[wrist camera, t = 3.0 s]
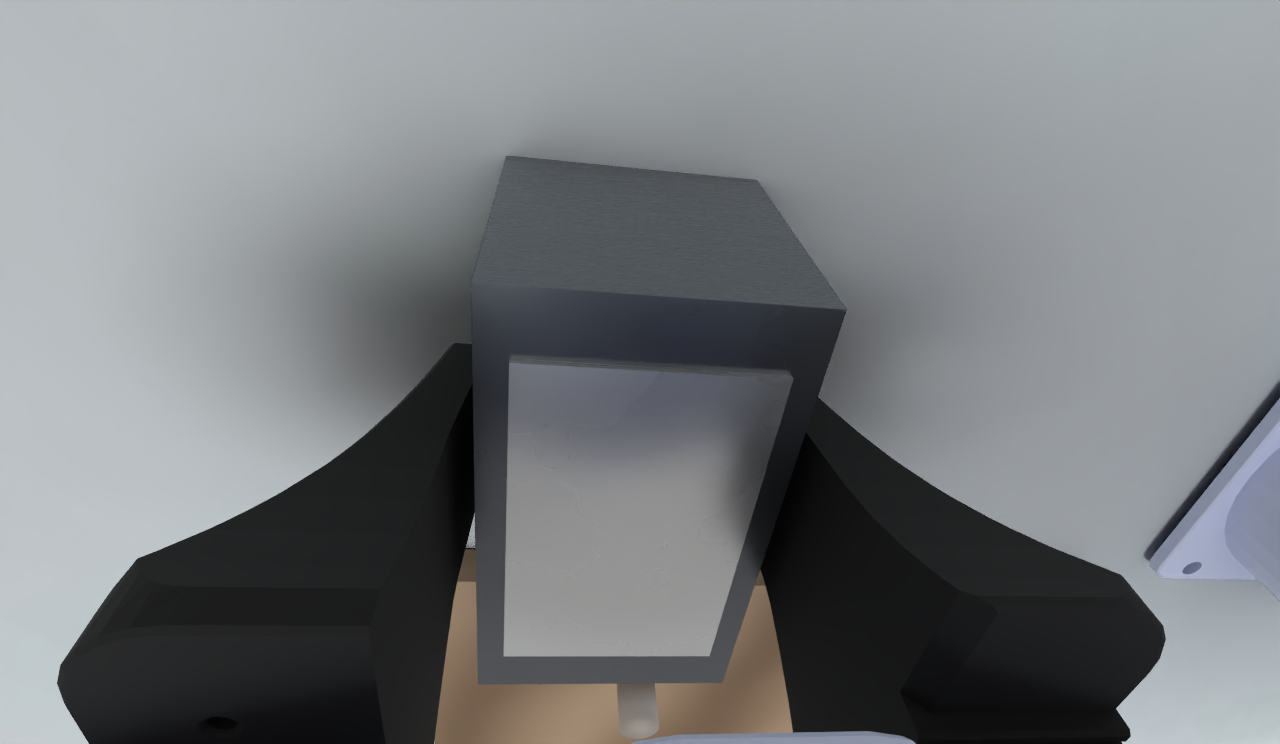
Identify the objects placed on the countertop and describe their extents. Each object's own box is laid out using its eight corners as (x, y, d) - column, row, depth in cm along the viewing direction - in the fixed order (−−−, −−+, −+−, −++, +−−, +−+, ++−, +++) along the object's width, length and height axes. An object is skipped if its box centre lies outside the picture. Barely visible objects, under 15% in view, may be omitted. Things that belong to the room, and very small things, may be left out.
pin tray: (1075, 561, 19) (1148, 656, 17) (925, 770, 26) (963, 860, 23) (429, 548, 17) (404, 657, 14) (445, 783, 23) (430, 886, 21)
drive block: (755, 177, 12) (849, 313, 8) (685, 493, 17) (723, 687, 13) (506, 153, 12) (469, 286, 8) (502, 488, 16) (476, 690, 12)
